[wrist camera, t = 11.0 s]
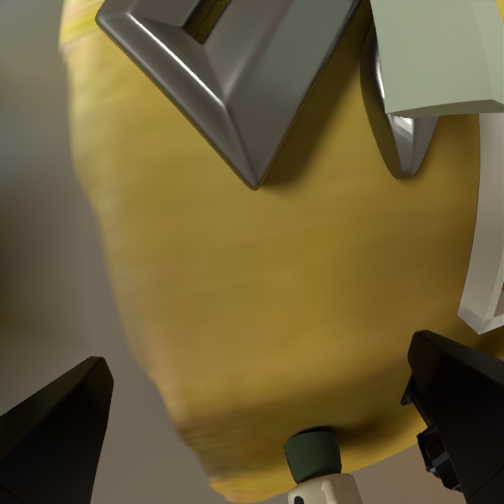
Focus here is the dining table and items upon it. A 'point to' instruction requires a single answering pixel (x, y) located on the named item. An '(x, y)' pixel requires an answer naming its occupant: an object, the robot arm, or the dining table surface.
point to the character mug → (319, 471)
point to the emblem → (256, 73)
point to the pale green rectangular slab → (440, 56)
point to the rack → (487, 234)
